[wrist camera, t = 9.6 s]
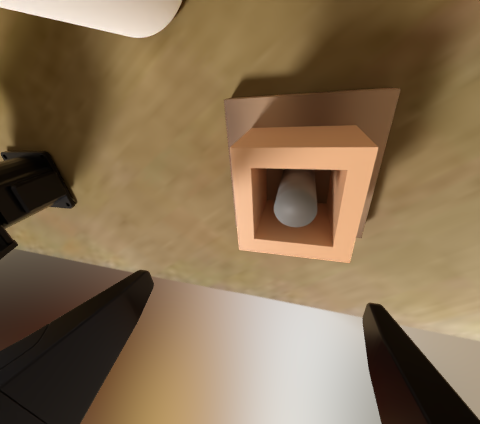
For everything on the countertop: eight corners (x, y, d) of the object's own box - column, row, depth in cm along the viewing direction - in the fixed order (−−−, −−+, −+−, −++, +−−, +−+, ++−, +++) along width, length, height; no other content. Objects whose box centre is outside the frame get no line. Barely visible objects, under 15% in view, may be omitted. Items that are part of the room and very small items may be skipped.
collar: (254, 210, 18) (239, 249, 14) (251, 127, 15) (229, 147, 11) (339, 216, 16) (349, 263, 12) (356, 125, 13) (378, 147, 9)
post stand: (240, 217, 21) (216, 267, 15) (230, 97, 15) (190, 109, 10) (357, 227, 18) (379, 290, 13) (391, 87, 13) (451, 95, 8)
